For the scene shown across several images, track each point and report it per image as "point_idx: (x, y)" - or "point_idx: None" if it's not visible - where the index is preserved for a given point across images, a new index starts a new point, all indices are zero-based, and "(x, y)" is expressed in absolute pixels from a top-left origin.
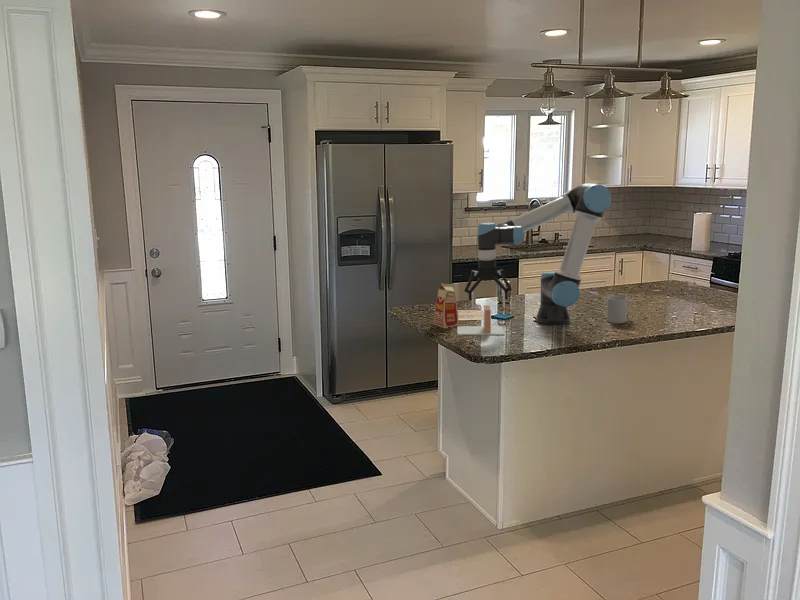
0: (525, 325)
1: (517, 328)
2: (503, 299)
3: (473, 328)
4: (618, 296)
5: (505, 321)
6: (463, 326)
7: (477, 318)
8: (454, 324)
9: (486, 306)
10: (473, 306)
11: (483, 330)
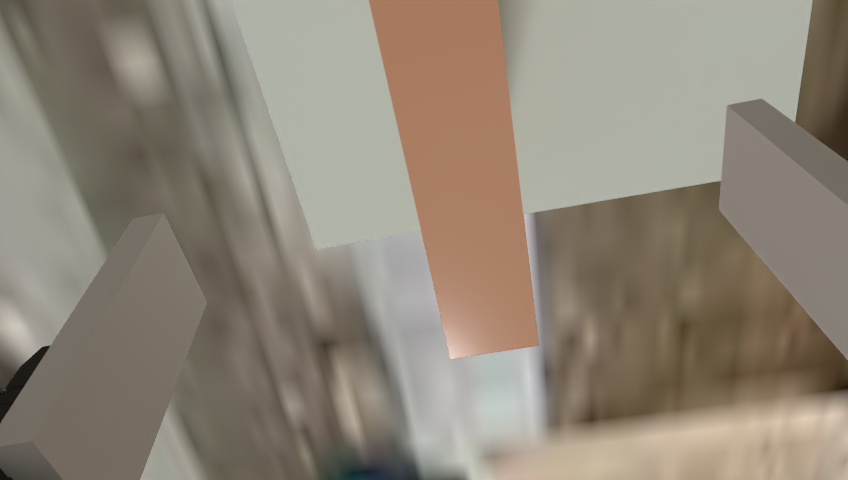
0: None
1: None
2: (103, 310)
3: (611, 106)
4: None
5: (337, 425)
6: (720, 175)
7: (575, 468)
8: None
9: (490, 283)
10: (748, 120)
11: None
